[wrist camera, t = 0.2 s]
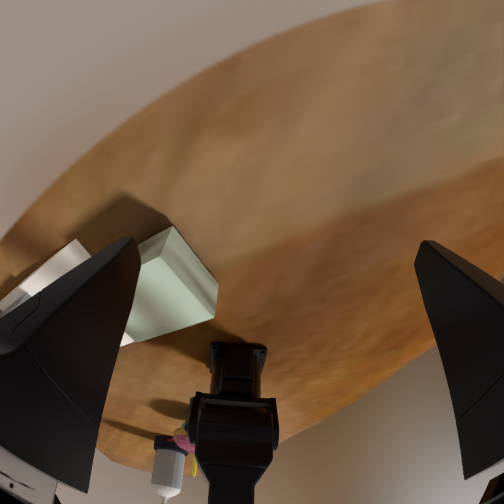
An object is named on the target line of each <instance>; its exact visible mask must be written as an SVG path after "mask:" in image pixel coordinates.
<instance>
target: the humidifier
mask: <svg viewBox="0 0 504 504" xmlns="http://www.w3.org/2000/svg"><path fill="white" fill-rule="evenodd" d="M154 449H155V451H156V454H155V460H154V466H153V473H152V480H151V486H152V488H153V489H154V491H155V492H156V493H157V494H159V495H160V496H161V497H162V504H166V500H167V498H169V497H172V496H175V495H177V494H178V493H179V492H180V491H181V487H182V478H183V469H184V461H185V457H186V456H187V455H188V453H189V452H187V451H185V450H183V449H182V448H180V447H179V446H177V445H176V443H175V442H174V440H173V437H171V436H156V437H155V442H154Z"/></svg>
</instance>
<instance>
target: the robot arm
mask: <svg viewBox="0 0 504 504" xmlns="http://www.w3.org/2000/svg"><path fill="white" fill-rule="evenodd" d="M414 267H415V271H416V275H417V279H418V282H419V286H420V290H421V294H422V298H423V302H424V305H425V309H426V312H427V315H428V318H429V321H430V324H431V327H432V330H433V333H434V336H435V339H436V343H437V346H438V349H439V353H440V356H441V360H442V364H443V367H444V371H445V375H446V379H447V383H448V387H449V391H450V396H451V400H452V405H453V409H454V414H455V419H456V425H457V431H458V437H459V443H460V450H461V457H462V466H463V474H464V479H465V480H467V479H469V478H471V477H474V476H476V475H478V474H480V473H482V472H484V471H486V470H488V469H490V468H492V467H494V466H496V465H498V464H500V463H502V462H503V461H504V284H502V283H501V282H499V281H498V280H496V279H495V278H493V277H492V276H490V275H489V274H487V273H486V272H484V271H482V270H481V269H479V268H478V267H476V266H475V265H473V264H472V263H470V262H468V261H467V260H465V259H464V258H462V257H460V256H459V255H457V254H455V253H454V252H452V251H450V250H449V249H447V248H445V247H444V246H442V245H440V244H439V243H437V242H435V241H432V240H424V241H422V242H421V244H420V247H419V250H418V253H417V256H416V259H415V263H414ZM140 269H141V257H140V253H139V249H138V245H137V241H136V239H135V238H134V237H123V238H121V239H119V240H117V241H116V242H114V243H112V244H111V245H109V246H107V247H106V248H104V249H103V250H101V251H99V252H98V253H96V254H95V255H93V256H91V257H90V258H88V259H87V260H85V261H84V262H82V263H81V264H79V265H77V266H76V267H74V268H73V269H71V270H70V271H68V272H67V273H65V274H64V275H62V276H61V277H59V278H58V279H56V280H55V281H53V282H52V283H51V284H49V285H48V286H46V287H45V288H43V289H42V290H41V291H39V292H37V293H36V294H35V295H33V296H32V297H30V298H29V299H28V300H26V301H25V302H23V303H22V304H20V305H19V306H17V307H16V308H14V309H13V310H11V311H10V312H8V313H7V314H5V315H4V316H2V317H1V318H0V504H61V503H60V501H59V499H58V497H57V496H56V494H55V492H56V487H57V483H60V484H62V485H65V486H67V487H70V488H72V489H75V490H78V491H80V492H83V493H86V494H87V493H88V488H89V481H90V475H91V470H92V463H93V458H94V453H95V447H96V442H97V437H98V433H99V431H98V430H99V427H100V422H101V418H102V413H103V409H104V405H105V401H106V397H107V392H108V389H109V385H110V381H111V377H112V373H113V370H114V366H115V362H116V359H117V355H118V352H119V348H120V345H121V341H122V338H123V335H124V332H125V328H126V325H127V322H128V319H129V316H130V312H131V309H132V305H133V301H134V296H135V292H136V287H137V283H138V278H139V274H140ZM266 355H267V348H266V347H259V346H247V345H236V344H226V343H216V342H213V343H211V345H210V373H212V376H211V384H210V393H209V394H207V393H201V392H197V391H196V395H195V397H192V398H191V399H190V406H189V411H188V415H187V418H186V422H185V425H184V431H185V432H186V433H187V434H188V438H189V443H190V445H195V452H194V453H195V458H196V463H197V465H198V467H199V469H200V471H201V473H202V475H203V476H204V478H205V480H206V482H207V484H208V485H209V495H208V504H254V487H255V485H256V483H257V482H258V480H259V479H260V478H261V476H262V475H263V473H264V472H265V470H266V469H267V467H268V466H269V465H270V463H271V462H272V459H273V451H276V449H277V446H278V441H279V422H278V414H277V406H276V398H261V373H262V369H263V366H264V362H265V359H266ZM479 504H504V473H502V474H500V475H499V476H497V477H495V478H493V479H491V480H490V481H489V483H488V486H487V488H486V490H485V492H484V494H483V496H482V498H481V501H480V503H479Z"/></svg>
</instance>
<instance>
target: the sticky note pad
mask: <svg viewBox="0 0 504 504" xmlns="http://www.w3.org/2000/svg"><path fill="white" fill-rule="evenodd" d="M138 249H139V253H140V257H141V269H140V274H139V278H138V283H137V287H136V292H135V296H134V301H133V305H132V309H131V312H130V316H129V319H128V322H127V325H126V328H125V333H126V334H128V335H129V336H130V337H131V338H132V339H133V340H134V341H136V342H137V343H138V342H141V341H144V340H147V339H151V338H154V337H157V336H160V335H164V334H167V333H170V332H173V331H176V330H179V329H182V328H185V327H188V326H191V325H194V324H197V323H200V322H203V321H206V320H209V319H212V318H214V315H215V308H216V301H217V294H218V288H219V284H218V283H217V282H216V280H215V278H214V276H213V275H212V274H210V273H209V272H208V270H207V269H206V268H205V267H204V265H203V264H202V263H201V261H200V260H199V259H198V258H197V256H196V255H195V254H194V253H193V251H192V250H191V249H190V247H189V246H188V245H187V244H186V242H185V241H184V240H183V238H182V237H181V234H180V233H179V231H177V230H176V229H175V228H174V227H173V226H172V227H170V228H168V229H166V230H164V231H162V232H160V233H158V234H157V235H155V236H153V237H151V238H149V239H148V240H146V241H144V242H142V243H140V244H138Z"/></svg>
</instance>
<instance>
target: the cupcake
mask: <svg viewBox="0 0 504 504" xmlns="http://www.w3.org/2000/svg"><path fill="white" fill-rule="evenodd" d="M186 418H187V417H186ZM185 422H186V419H185V421H184V423H183V425H182V426H181V428H178V429H176V430H175V431H174V432H173V440H174V442H175V443H176V445H177V446H179V447H180V448H182V449H183V450H185V451H187V452H191V453H194V452H195V445H190V443H189V438H188V434H187V433H186V432H185V431H184V425H185ZM196 466H197V463H196V458H195V453H194V458H193V468H192V475H193V480H194V476H196Z"/></svg>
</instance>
